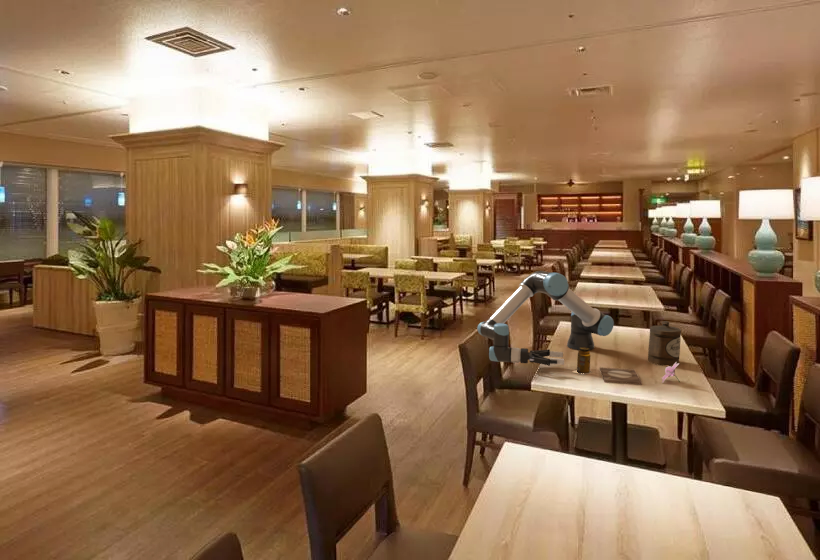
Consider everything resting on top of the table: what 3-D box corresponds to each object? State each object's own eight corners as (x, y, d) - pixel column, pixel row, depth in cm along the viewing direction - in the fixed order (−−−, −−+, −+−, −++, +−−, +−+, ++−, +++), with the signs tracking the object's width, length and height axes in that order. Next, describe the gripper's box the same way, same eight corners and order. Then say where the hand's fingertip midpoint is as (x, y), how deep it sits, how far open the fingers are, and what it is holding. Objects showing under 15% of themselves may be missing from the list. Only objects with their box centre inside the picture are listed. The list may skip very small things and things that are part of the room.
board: (599, 369, 261) (599, 366, 261) (633, 371, 257) (634, 369, 257) (604, 382, 242) (604, 379, 241) (641, 384, 238) (641, 381, 238)
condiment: (593, 372, 257) (594, 348, 255) (582, 375, 252) (583, 351, 250) (581, 368, 263) (582, 345, 261) (570, 371, 258) (571, 348, 256)
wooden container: (674, 367, 264) (677, 325, 261) (644, 362, 273) (646, 321, 270) (682, 361, 275) (684, 320, 272) (652, 356, 284) (654, 317, 282)
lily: (668, 378, 250) (658, 361, 249) (692, 374, 241) (683, 356, 241) (660, 392, 242) (651, 374, 241) (686, 388, 233) (676, 370, 233)
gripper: (520, 356, 276) (562, 358, 271) (518, 369, 252) (564, 372, 247) (521, 342, 275) (562, 344, 270) (519, 354, 251) (564, 357, 246)
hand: (563, 358), depth 258 cm, fingers open, 13 cm apart
